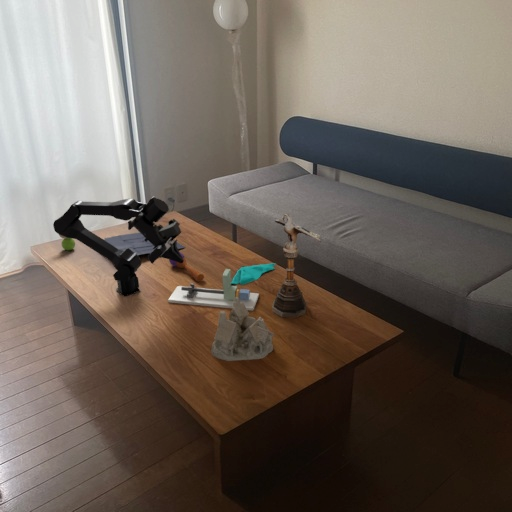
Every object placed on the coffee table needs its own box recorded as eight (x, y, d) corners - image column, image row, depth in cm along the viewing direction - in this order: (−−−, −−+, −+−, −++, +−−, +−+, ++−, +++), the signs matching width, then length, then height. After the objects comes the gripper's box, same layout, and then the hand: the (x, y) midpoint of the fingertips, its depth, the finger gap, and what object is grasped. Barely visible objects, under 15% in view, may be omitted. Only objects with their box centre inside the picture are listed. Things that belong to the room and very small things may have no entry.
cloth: (269, 260, 208) (269, 255, 207) (289, 272, 198) (289, 267, 197) (213, 277, 195) (213, 272, 194) (232, 291, 185) (232, 286, 184)
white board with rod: (168, 302, 177) (167, 290, 175) (177, 288, 186) (177, 277, 184) (253, 310, 172) (253, 298, 170) (258, 295, 181) (258, 284, 179)
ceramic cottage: (203, 349, 152) (204, 306, 145) (243, 328, 163) (245, 287, 156) (240, 375, 143) (242, 330, 136) (279, 351, 154) (284, 309, 147)
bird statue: (296, 290, 184) (299, 197, 169) (323, 304, 175) (328, 207, 160) (261, 306, 174) (261, 209, 159) (288, 321, 165) (290, 220, 150)
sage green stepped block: (223, 300, 176) (222, 275, 171) (226, 293, 180) (225, 268, 176) (234, 301, 175) (233, 276, 171) (237, 294, 179) (237, 269, 175)
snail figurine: (59, 248, 218) (54, 222, 213) (75, 246, 221) (70, 220, 216) (61, 253, 214) (55, 227, 209) (76, 251, 216) (72, 224, 211)
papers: (95, 244, 219) (95, 236, 218) (159, 235, 237) (159, 228, 235) (118, 264, 201) (118, 256, 200) (185, 253, 219) (185, 245, 218)
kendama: (191, 275, 187) (165, 253, 201) (194, 288, 191) (168, 265, 204) (205, 268, 190) (178, 246, 204) (208, 280, 193) (181, 258, 207)
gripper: (153, 225, 161) (189, 260, 163) (174, 205, 177) (206, 237, 180) (132, 246, 166) (167, 279, 168) (154, 225, 182) (186, 255, 185)
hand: (182, 262), depth 175 cm, fingers closed
